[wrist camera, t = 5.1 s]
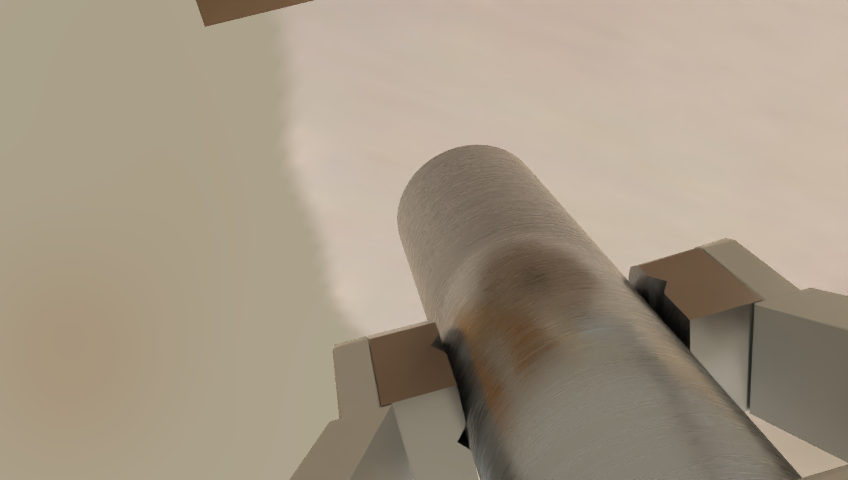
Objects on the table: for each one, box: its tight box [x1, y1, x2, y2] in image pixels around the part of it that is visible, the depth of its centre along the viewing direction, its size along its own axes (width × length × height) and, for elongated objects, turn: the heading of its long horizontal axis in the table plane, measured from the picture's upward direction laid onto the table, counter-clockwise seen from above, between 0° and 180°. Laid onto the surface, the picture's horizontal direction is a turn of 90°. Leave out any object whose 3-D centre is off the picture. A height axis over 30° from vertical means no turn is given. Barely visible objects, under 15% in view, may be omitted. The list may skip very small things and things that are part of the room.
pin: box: [397, 145, 802, 480], centre depth 10 cm, size 3×3×10 cm
